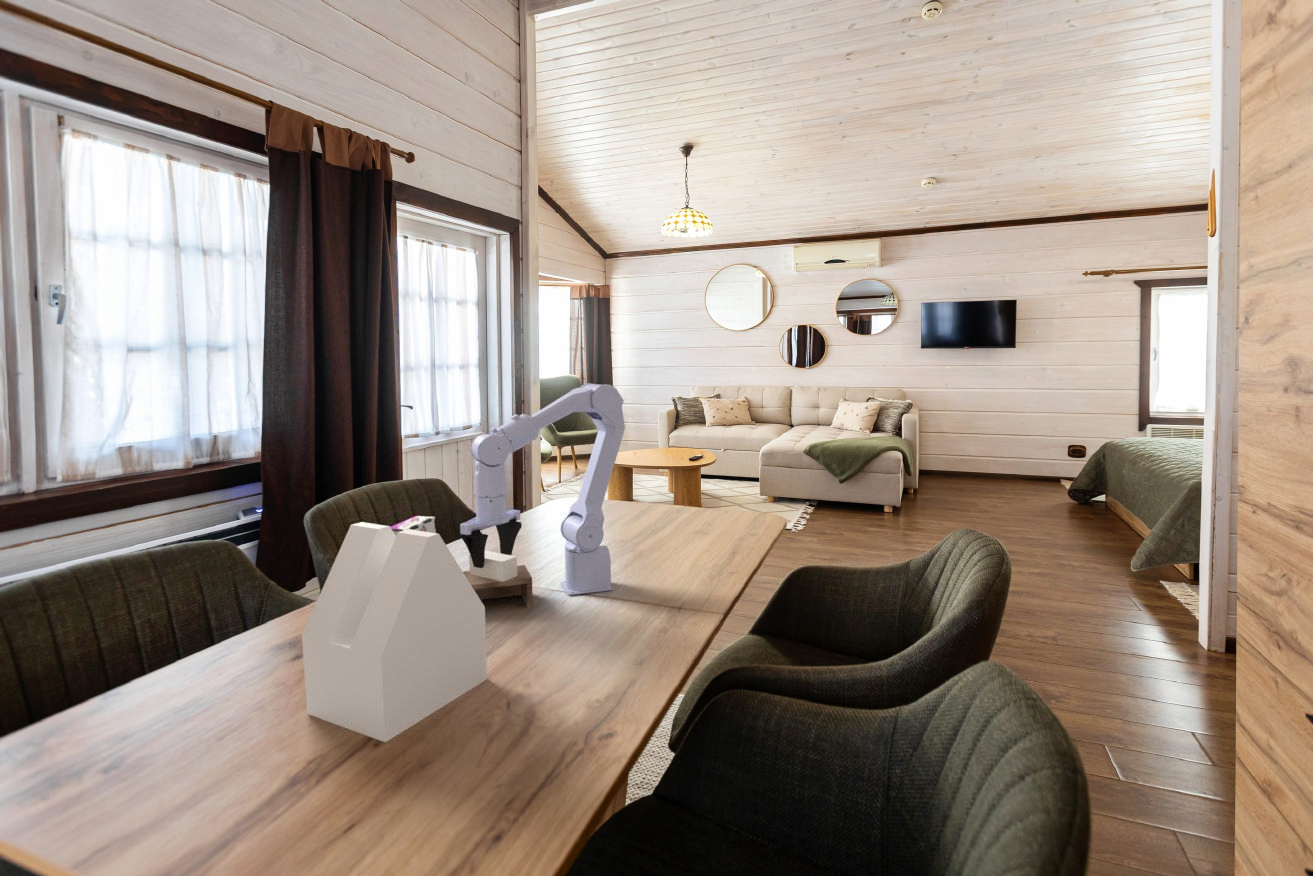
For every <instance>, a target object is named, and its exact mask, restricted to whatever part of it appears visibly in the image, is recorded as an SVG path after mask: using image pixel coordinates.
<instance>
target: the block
mask: <svg viewBox="0 0 1313 876" xmlns="http://www.w3.org/2000/svg"><path fill="white" fill-rule="evenodd" d="M468 559H469V562H468V563H469V571H470V574H471V575H475V576H479V577H484V578H488V579H493V580H497V581H502V582H504V581H506V580H509V579H511V578H514V577H516V576H517V566H518V564H517V563H518V558H517V556H516V555H515V556H514V555H506V554H501V552H495V551H491V550H486V549H485V562H484V567H483V568H477V567H474V565H473V562H472V558H471V555H470V554H468Z"/></svg>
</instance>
